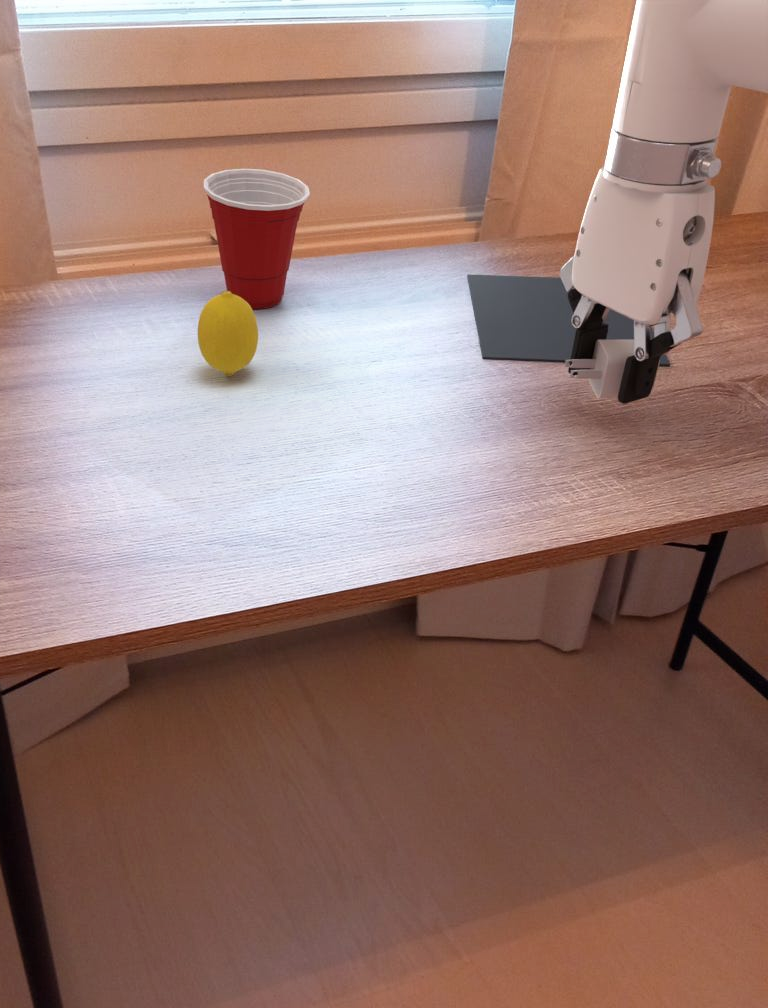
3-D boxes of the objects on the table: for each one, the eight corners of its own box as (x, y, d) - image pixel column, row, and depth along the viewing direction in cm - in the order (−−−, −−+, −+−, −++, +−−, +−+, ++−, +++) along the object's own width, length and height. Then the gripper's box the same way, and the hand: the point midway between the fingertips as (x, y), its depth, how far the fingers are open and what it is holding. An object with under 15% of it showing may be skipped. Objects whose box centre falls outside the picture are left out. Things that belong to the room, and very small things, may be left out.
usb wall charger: (649, 401, 86) (661, 356, 84) (568, 401, 86) (577, 356, 84) (637, 380, 89) (647, 336, 87) (558, 380, 89) (566, 336, 87)
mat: (670, 366, 98) (670, 364, 98) (482, 358, 99) (483, 356, 99) (626, 281, 115) (627, 280, 115) (467, 276, 116) (467, 274, 116)
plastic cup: (274, 328, 104) (275, 206, 97) (187, 306, 108) (181, 187, 101) (325, 293, 112) (329, 177, 104) (241, 274, 116) (239, 161, 108)
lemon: (270, 376, 96) (270, 292, 91) (226, 394, 93) (223, 308, 88) (231, 357, 99) (229, 275, 94) (187, 374, 96) (182, 290, 91)
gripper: (788, 180, 71) (716, 416, 83) (614, 126, 83) (572, 340, 94) (712, 196, 68) (648, 438, 80) (543, 137, 80) (509, 356, 91)
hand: (608, 382), depth 87 cm, fingers closed on usb wall charger, 5 cm apart
